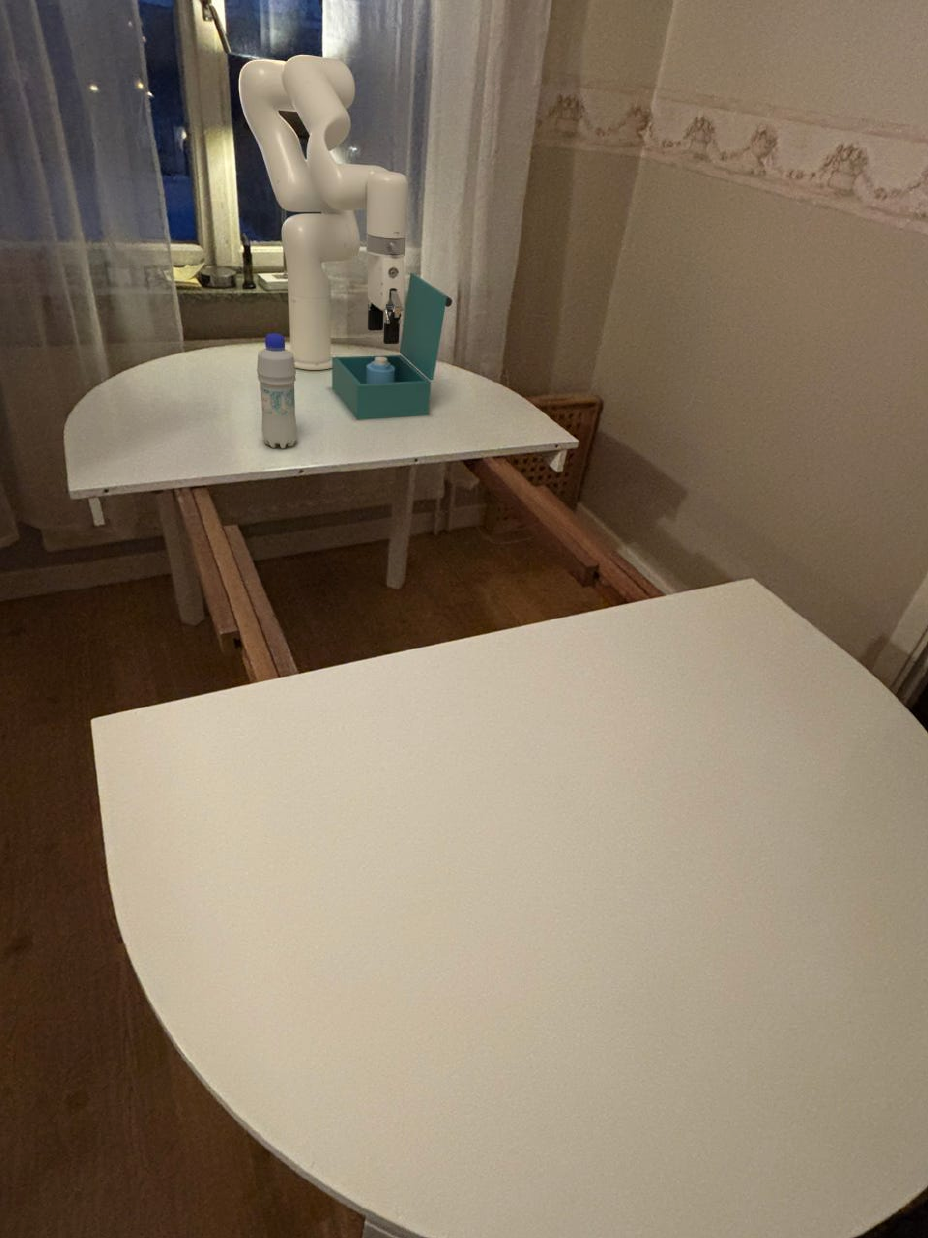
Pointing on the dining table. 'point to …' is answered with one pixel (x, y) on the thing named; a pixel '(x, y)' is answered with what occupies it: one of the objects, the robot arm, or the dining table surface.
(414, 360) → the lid
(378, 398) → the teal hollow box
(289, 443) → the bottle
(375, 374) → the water bottle
